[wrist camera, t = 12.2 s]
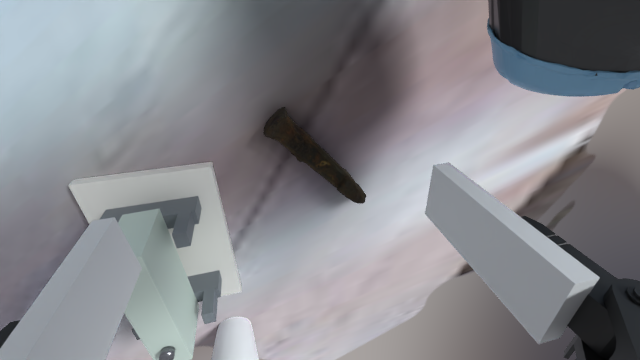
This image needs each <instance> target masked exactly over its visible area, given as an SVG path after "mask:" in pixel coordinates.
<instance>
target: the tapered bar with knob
mask: <svg viewBox="0 0 640 360" xmlns="http://www.w3.org/2000/svg"><path fill="white" fill-rule="evenodd" d="M118 224H119V226H120V228H121V230H122V232H123V234H124V235H125V237H126V239H127V241H128V243H129V245H130V247H131V248H132V250H133V252H134V254H135V256H136V258H137V260H138V261H139V263H140V265H141V267H142V269H141V272H140V274H139V277H138V279H137V282H136V284H135V287H134V289H133V292H132V294H131V297H130V299H129V302H128V304H127V307H126V309H125V312H124V314H125V315H126V317H127V319H128V320H129V322H130V323H131V325H132V326H133V328H134V330H135V331H136V333H137V334H138V336H139V338H140V339H141V341H142V342H143V344H144V346H145V347H146V349H147V350H148V352H149V354H150V355H151V357H152V358H153V360H191V359H192V358H193V351H194V343H195V335H196V327H197V318H198V310H199V304H198V302H197V299H196V297H195V294H194V292H193V289H192V287H191V285H190V282H189V280H188V277H187V275H186V272H185V270H184V267H183V265H182V262H181V260H180V258H179V255H178V253H177V250H176V248H175V245H174V243H173V240H172V238H171V235H170V233H169V231H168V228H167V226H166V223H165V221H164V218H163V216H162V213H161V211H160V208H159V209H153V210H147V211H142V212H136V213H130V214H124V215H122V216H121V218H120V220H119V222H118Z"/></svg>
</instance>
